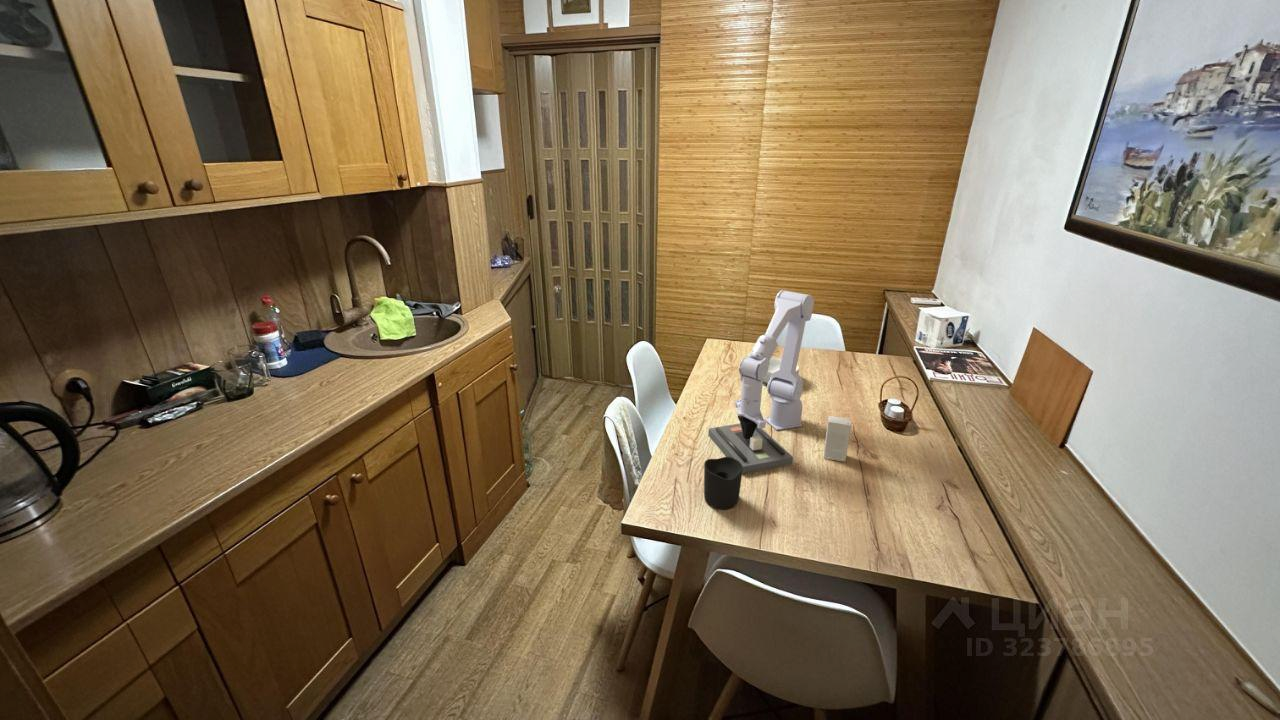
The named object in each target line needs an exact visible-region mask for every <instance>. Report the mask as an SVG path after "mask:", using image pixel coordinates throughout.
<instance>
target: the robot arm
mask: <svg viewBox="0 0 1280 720" xmlns="http://www.w3.org/2000/svg"><path fill="white" fill-rule="evenodd" d="M773 305H774V306H773V307H774V314H773V316H772V318H771V320H770V322H769V324H768V327H767V329H766V331H765V334H762V335H760V336H759V337H758V338H757V340H756V342H755V344H754V345H753V348H752V349H751V351H750V353H749V354H748V356H746V357H744V358H743V359H741V361H740V364H739V368H738V372H739V376H740V381H741V393H740V394H741V395H740V399H737V400H735V401H734V407H735V408H737V410H736V412H735V413H736V415H737V419H738V421H739V424H741V427H742V432H743V437H744V438H745V439H746V440H747V439H750V437H752V436H753V434H754V431H755V429H756V427H757V426H758V428H759V429H760V428H762V429H764V428H766V425H767V424H766V423H768V424H769V425H770V426H771V427H772V428H773V429H775V430H776V431H780V430H781V431H782V430H787V429H792V428H798V427H802V426H803V425H802V423H801V421H802V415H803V403H802V400H801V397H802V394H803V390H804V389H803V388H804V387H803V385H804V379H803V377H801V375H800V374H799V373H797V372H796V367H797V365H798V361H799V356H800V351H801V346H802V343H803V342H802V341H803V337H804V332H805V326H806V322H808V321H811V319H812V316H813V310H814V305H815V300H814V298H813V296H812V294H810V293H808V294H806V293H800V292H795V291H789V290H785V289H781V290H780V291H778V292H777V294H776V296H775V299H774V304H773ZM786 326H787V329H786V335H785V338H784V345H783V350H782V354H781V358H780V359H781V364H780V369H779V370H776V371H774V372H773V373H772V374H771V377H770V380H769V382H768V384H767V385H766V390H767V394H769V398H770V399H771V405H770V413H769V416H768V417H767V416H766V417H764V416H763V413H762V412H761V404H762V391H763V384H764V381H763V379H764V378H765V376H766V375H767V372H768V368H769V365H770V362H769V361H770V359H771V358H773V355H774V353H775V351H776V350H777V347H778V346H779V345H778V342H777V339H778V338H779V337H780V336H781V334H782V332H783V331H784V329H785V328H786Z"/></svg>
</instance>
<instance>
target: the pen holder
mask: <svg viewBox="0 0 1280 720" xmlns="http://www.w3.org/2000/svg"><path fill="white" fill-rule="evenodd" d="M703 471H704V472H703V473H704V474H703V489H704V491H703V493H704V494H703V496H704V497H703V498H704V500H705V502H706V503H707V504H708V505H709V506H710V507H712V508H714V509H717V510H729V509H732V508H734V507H736V506H737V505H738V503H739V498H740V491H741V486H742V485H741V483H742V479H743V474H742V471H743V466H742V464H741V463H740V462H739V461H738V460H736V459H734V458H732V457H726V456H724V457H720V458H708V459H706V460H705V462H704V468H703Z"/></svg>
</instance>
